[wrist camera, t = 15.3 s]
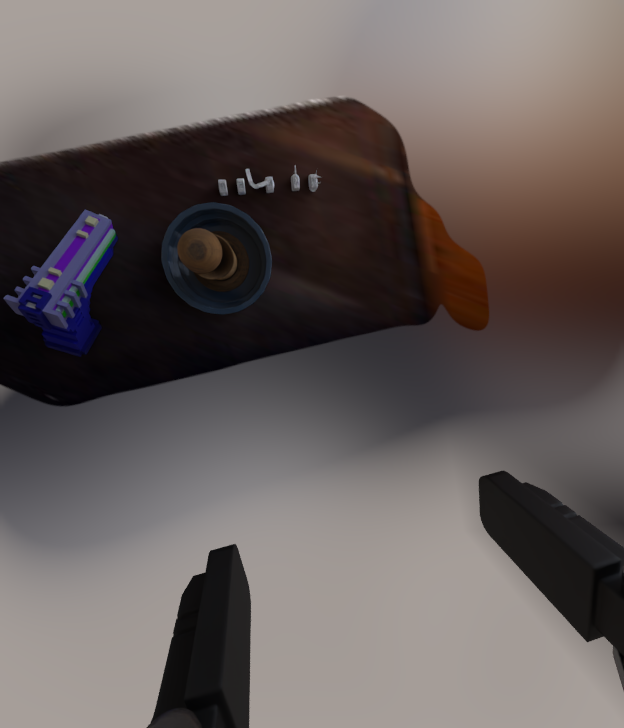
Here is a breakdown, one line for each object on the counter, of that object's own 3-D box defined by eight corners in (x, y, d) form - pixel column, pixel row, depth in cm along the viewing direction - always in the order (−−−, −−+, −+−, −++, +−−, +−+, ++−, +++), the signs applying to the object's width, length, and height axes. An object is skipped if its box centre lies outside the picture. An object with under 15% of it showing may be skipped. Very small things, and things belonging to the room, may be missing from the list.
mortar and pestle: (254, 286, 40) (255, 291, 23) (201, 295, 39) (161, 308, 22) (242, 229, 38) (233, 188, 21) (186, 238, 37) (130, 203, 20)
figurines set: (221, 198, 38) (218, 192, 35) (216, 171, 37) (213, 162, 34) (321, 191, 39) (326, 185, 37) (319, 165, 38) (324, 156, 36)
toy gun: (41, 349, 35) (-2, 299, 27) (99, 260, 41) (79, 197, 33) (82, 361, 36) (53, 317, 28) (133, 273, 43) (122, 215, 34)
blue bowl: (188, 317, 40) (179, 322, 35) (162, 221, 37) (147, 211, 32) (277, 300, 42) (280, 303, 36) (258, 206, 38) (259, 195, 33)
